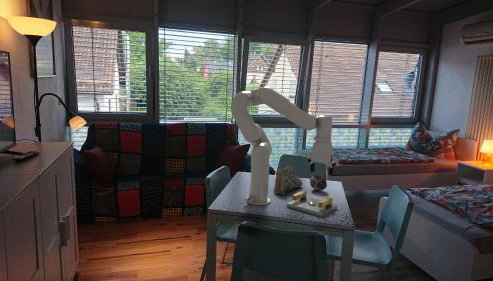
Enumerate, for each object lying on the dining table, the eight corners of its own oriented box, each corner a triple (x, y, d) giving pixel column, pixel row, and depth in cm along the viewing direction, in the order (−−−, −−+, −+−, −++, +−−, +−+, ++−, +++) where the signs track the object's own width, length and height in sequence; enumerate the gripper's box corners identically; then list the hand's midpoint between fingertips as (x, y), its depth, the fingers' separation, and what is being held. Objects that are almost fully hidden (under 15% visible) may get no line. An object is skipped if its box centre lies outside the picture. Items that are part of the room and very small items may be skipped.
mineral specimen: (328, 192, 200) (329, 176, 199) (311, 192, 200) (312, 176, 198) (323, 188, 210) (324, 172, 209) (307, 187, 209) (308, 172, 208)
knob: (323, 210, 163) (323, 203, 163) (316, 208, 166) (317, 201, 165) (333, 205, 172) (333, 198, 171) (326, 203, 174) (327, 196, 174)
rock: (284, 197, 188) (285, 171, 186) (268, 193, 194) (270, 168, 192) (305, 187, 210) (307, 164, 208) (291, 184, 216) (292, 161, 214)
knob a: (296, 202, 173) (297, 196, 172) (290, 201, 175) (291, 194, 174) (307, 198, 181) (308, 191, 181) (301, 196, 184) (302, 190, 183)
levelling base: (321, 217, 160) (322, 212, 160) (286, 206, 173) (286, 201, 172) (337, 208, 173) (337, 203, 173) (303, 199, 186) (303, 194, 185)
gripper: (304, 139, 170) (302, 171, 172) (336, 142, 159) (334, 177, 162) (311, 137, 175) (309, 169, 178) (342, 141, 165) (340, 175, 168)
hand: (321, 173), depth 170 cm, fingers open, 9 cm apart
